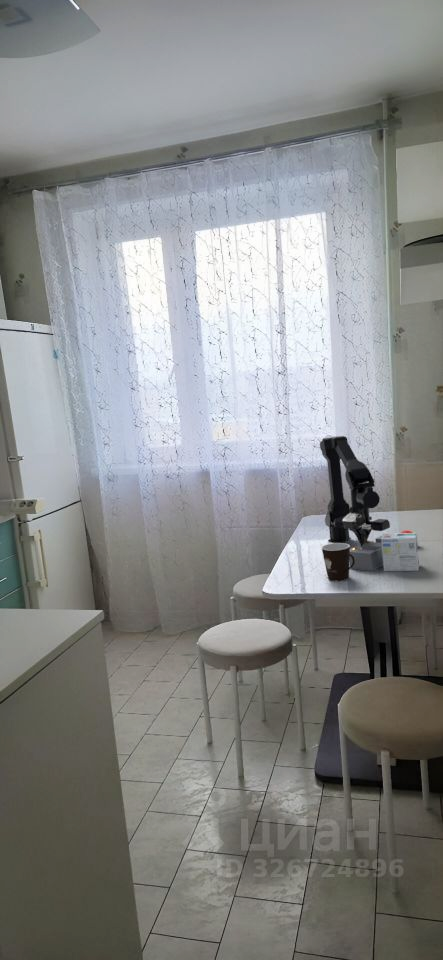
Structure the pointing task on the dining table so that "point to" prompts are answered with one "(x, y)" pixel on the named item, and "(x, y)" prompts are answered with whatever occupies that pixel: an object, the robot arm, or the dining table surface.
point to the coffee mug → (337, 561)
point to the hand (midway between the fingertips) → (363, 547)
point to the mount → (368, 556)
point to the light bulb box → (400, 552)
